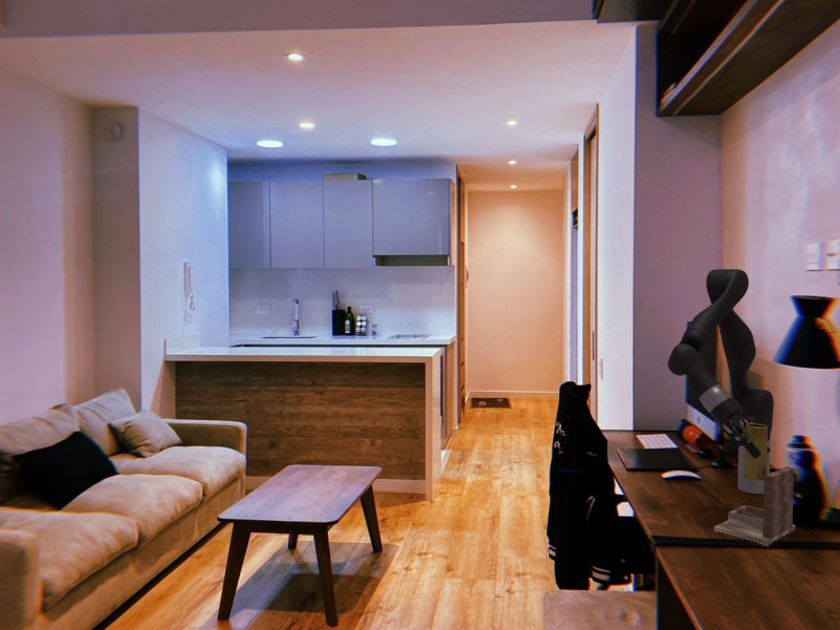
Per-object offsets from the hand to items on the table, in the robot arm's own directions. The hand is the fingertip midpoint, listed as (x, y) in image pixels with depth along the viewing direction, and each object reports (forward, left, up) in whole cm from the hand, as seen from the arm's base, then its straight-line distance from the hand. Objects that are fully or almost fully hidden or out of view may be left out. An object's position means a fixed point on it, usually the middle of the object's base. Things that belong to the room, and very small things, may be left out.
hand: (762, 454), depth 189 cm
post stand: (0, -2, -21) cm, 21 cm away
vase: (0, -2, -7) cm, 7 cm away
